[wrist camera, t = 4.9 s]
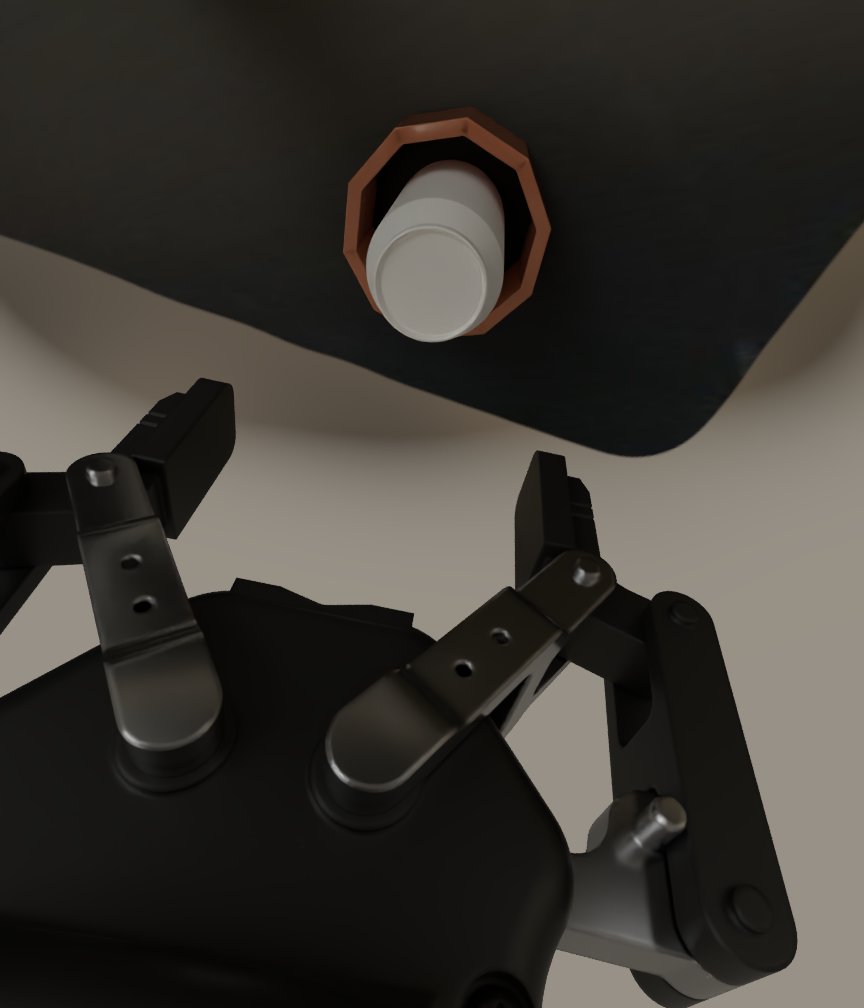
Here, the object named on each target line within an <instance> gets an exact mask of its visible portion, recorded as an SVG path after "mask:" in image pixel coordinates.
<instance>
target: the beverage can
mask: <svg viewBox="0 0 864 1008" xmlns="http://www.w3.org/2000/svg"><path fill="white" fill-rule="evenodd" d="M366 274H367V281H368V285H369V289H370V292H371V294H372V297H373V299H374V301H375V303H376V305H377V306H378V308H379V309H380V311H381V312H382V314H383V315H384V317H385V318H386V319H387V321H388V322H389V323H390V324H391V325H392V326H393V327H394V328H395V329H397V330H398V331H399V332H401V333H402V334H404V335H406V336H408V337H410V338H413V339H415V340H419V341H424V342H441V341H446V340H450V339H452V338H455V337H458V336H461V335H463V334H465V333H467V332H469V331H471V330H472V329H474V328H475V327H477V326H478V325H479V324H480V323H481V322H483V321H484V320H485V318H486V317H487V316H488V315H489V314H490V312H491V311H492V309H493V308H494V306H495V304H496V302H497V300H498V298H499V295H500V292H501V288H502V284H503V276H504V209H503V204H502V200H501V197H500V195H499V192H498V190H497V188H496V186H495V185H494V183H493V182H492V181H491V179H490V178H489V177H488V176H487V175H486V174H485V173H484V172H483V171H481V170H480V169H479V168H477V167H476V166H474V165H472V164H470V163H467V162H464V161H459V160H442V161H437V162H434V163H431V164H429V165H427V166H425V167H424V168H422V169H421V170H419V171H418V172H417V173H416V174H415V175H414V176H413V177H412V178H411V179H410V180H409V181H408V183H407V184H406V185H405V187H404V188H403V190H402V191H401V193H400V194H399V196H398V197H397V199H396V200H395V202H394V203H393V205H392V206H391V208H390V209H389V211H388V212H387V214H386V215H385V217H384V218H383V220H382V222H381V223H380V225H379V226H378V228H377V229H376V231H375V233H374V235H373V237H372V239H371V242H370V245H369V248H368V253H367V259H366Z"/></svg>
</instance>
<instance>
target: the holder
mask: <svg viewBox="0 0 864 1008" xmlns="http://www.w3.org/2000/svg"><path fill="white" fill-rule="evenodd" d="M458 136H465V137H466V138H468V139H469V140H471V141H472V142H474V143H475V144H477V145H479V146H480V147H482V148H483V149H485V150H486V151H488V152H489V153H491V154H492V155H494V156H495V157H497V158H498V159H500V160H501V161H503V162H504V163H506V164H507V165H509V166H510V167H512V168H513V169H515V170H516V171H517V174H518V177H519V180H520V183H521V186H522V189H523V192H524V195H525V198H526V201H527V204H528V207H529V210H530V213H531V219H530V222H529V226H528V230H527V233H526V237H525V241H524V244H523V248H522V252H521V255H520V259H519V260H518V261H517V262H516V263H515V264H514V265H513V266H511V267H510V268H509V269H508V270H507V271H506V272H505V273H504V276H503V284H502V288H501V292H500V295H499V298H498V300H497V302H496V304H495V306H494V308H493V309H492V311H491V312H490V314H489V315H488V316H487V317H486V318H485V320H484V321H483V322H481V323H480V324H479V325H478V326H477V327H475V328H474V329H472V330H471V331H469V332H467V333H465V334H463V335H461V336H466V335H478V334H485V333H486V332H487V331H488V330H490V329H491V328H492V327H493V326H494V325H496V324H497V323H498V322H499V321H501V320H502V319H503V318H504V317H505V316H507V315H508V314H509V313H510V312H511V311H513V310H514V309H515V308H516V307H518V306H519V305H520V304H521V303H522V302H524V301H525V300H526V299H527V298H528V297H530V296H531V295H532V292H533V289H534V286H535V282H536V279H537V276H538V272H539V269H540V265H541V262H542V259H543V255H544V252H545V249H546V245H547V242H548V238H549V235H550V232H551V225H550V220H549V215H548V210H547V206H546V203H545V199H544V196H543V193H542V190H541V187H540V184H539V181H538V178H537V175H536V171H535V168H534V165H533V162H532V159H531V156H530V153H529V150H528V147H527V143H526V142H524V141H523V140H521V139H520V138H518V137H517V136H515V135H514V134H512V133H511V132H510V131H508V130H507V129H505V128H504V127H502V126H501V125H499V124H498V123H496V122H495V121H493V120H492V119H490V118H489V117H488V116H486V115H485V114H483V113H482V112H480V111H479V110H477V109H476V108H474V107H473V106H469V107H463V108H456V109H450V110H443V111H436V112H430V113H423V114H416V115H409V116H408V117H407V118H406V119H405V120H403V121H402V122H401V123H400V124H399V125H398V126H396V127H395V128H394V130H393V131H392V132H391V133H390V134H389V136H388V137H387V138H386V139H385V140H384V142H383V143H382V144H381V145H380V146H379V147H378V149H377V150H376V151H375V152H374V153H373V154H372V156H371V157H370V158H369V159H368V160H367V162H366V163H365V164H364V165H363V166H362V167H361V169H360V170H359V171H358V172H357V173H356V174H355V176H354V177H353V178H352V179H351V180H350V181H349V183H348V195H347V208H346V221H345V234H344V247H343V254H344V255H345V257H346V259H347V260H348V262H349V264H350V266H351V268H352V270H353V272H354V274H355V275H356V277H357V279H358V281H359V283H360V285H361V287H362V288H363V290H364V292H365V294H366V296H367V298H368V300H369V302H370V303H371V305H372V307H373V309H374V310H376V311H377V312H379V313H381V314H382V312H381V311H380V309H379V308H378V306H377V305H376V303H375V301H374V299H373V297H372V294H371V292H370V289H369V285H368V281H367V274H366V259H367V253H368V248H369V245H370V242H371V239H372V237H373V235H374V233H375V230H374V228H373V222H374V212H375V203H376V194H377V184H378V175H379V171H380V170H381V169H382V168H383V167H384V166H385V164H386V163H387V162H388V161H389V160H390V159H391V158H392V156H393V155H394V154H395V153H396V152H397V151H398V150H399V148H400V147H401V146H402V145H403V144H409V143H416V142H423V141H430V140H437V139H444V138H451V137H458Z"/></svg>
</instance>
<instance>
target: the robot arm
mask: <svg viewBox="0 0 864 1008" xmlns="http://www.w3.org/2000/svg"><path fill="white" fill-rule="evenodd" d="M235 439H236V430H235V411H234V391H233V387H232V385H231V384H228V383H224V382H219V381H214V380H210V379H205V378H200V379H198V380H197V381H196V383H195V384H194V385H193V386H192V387H191V388H190V389H189V390H188V392H187V393H186V394H183V393H178V392H176V393H174V394H172V395H170V396H168V397H166V398H164V399H162V400H160V401H159V402H158V403H157V404H156V405H155V406H154V407H153V408H152V409H151V410H150V411H149V414H147V415H145V416H144V417H143V418H142V420H141V421H140V424H137V425H136V426H135V427H134V428H133V429H132V430H131V431H130V432H129V433H128V435H127V436H126V437H125V438H124V439H123V440H122V441H121V442H120V443H119V444H118V445H117V446H116V447H115V448H114V449H113V450H112V451H111V452H110V453H109V452H108V453H96V454H91V455H88V456H85V457H83V458H80V459H78V460H77V461H75V462H74V463H73V464H71V466H69V468H68V469H67V472H30V473H29V472H26V469H25V466H24V463H23V461H22V460H21V459H20V458H19V457H17V456H16V455H13V454H10V453H7V452H0V635H1V633H2V632H3V631H4V629H5V628H6V627H7V625H8V624H9V623H10V621H11V620H12V619H13V617H14V616H15V615H16V613H17V612H18V610H19V609H20V608H21V607H22V605H23V604H24V603H25V601H26V600H27V599H28V597H29V596H30V595H31V593H32V592H33V591H34V589H35V588H36V587H37V586H38V584H39V583H40V582H41V580H42V579H43V577H44V576H45V575H46V574H47V572H48V571H49V570H50V568H51V567H52V566H54V565H74V564H83V567H84V571H85V575H86V580H87V585H88V589H89V594H90V599H91V603H92V608H93V612H94V617H95V622H96V626H97V631H98V635H99V639H100V645H98V646H96V647H95V648H92V649H91V650H89V651H87V652H85V653H83V654H81V655H79V656H77V657H76V658H74V659H72V660H70V661H68V662H66V663H65V664H62V665H61V666H59V667H57V668H55V669H53V670H51V671H49V672H47V673H46V674H44V675H42V676H40V677H38V678H36V679H34V680H33V681H31V682H29V683H27V684H25V685H23V686H21V687H19V688H17V689H16V690H14V691H12V692H10V693H8V694H6V695H4V696H3V697H1V698H0V1008H542V1001H543V994H544V989H545V984H546V979H547V975H548V972H549V968H550V965H551V962H552V959H553V956H554V953H555V951H556V949H557V950H561V951H565V952H569V953H572V954H576V955H580V956H584V957H588V958H592V959H595V960H599V961H603V962H607V963H611V964H615V965H619V966H623V967H627V968H630V971H631V973H632V975H633V977H634V979H635V981H636V982H637V983H638V985H639V986H640V988H641V989H642V990H643V991H644V992H645V994H646V995H647V996H649V997H650V998H651V999H652V1000H653V1001H655V1002H656V1003H658V1004H659V1005H661V1006H663V1007H666V1008H687V1007H690V1006H692V1005H695V1004H697V1003H700V1002H702V1001H705V1000H707V999H709V998H712V997H715V996H717V995H720V994H723V993H725V992H728V991H730V990H733V989H735V988H738V987H740V986H743V985H745V984H748V983H750V982H753V981H755V980H758V979H760V978H763V977H766V976H768V975H771V974H773V973H776V972H778V971H781V970H783V969H785V968H786V967H787V966H788V965H789V964H790V963H791V962H792V960H793V959H794V956H795V953H796V950H797V931H796V926H795V922H794V918H793V915H792V911H791V907H790V903H789V900H788V896H787V893H786V889H785V885H784V881H783V877H782V874H781V870H780V866H779V863H778V859H777V855H776V851H775V848H774V844H773V841H772V837H771V833H770V830H769V826H768V822H767V819H766V815H765V811H764V808H763V803H762V800H761V796H760V792H759V789H758V785H757V782H756V778H755V775H754V770H753V767H752V763H751V759H750V755H749V752H748V748H747V744H746V741H745V737H744V733H743V730H742V726H741V722H740V719H739V715H738V711H737V707H736V704H735V700H734V697H733V693H732V689H731V686H730V682H729V678H728V674H727V671H726V667H725V663H724V659H723V656H722V652H721V648H720V645H719V641H718V637H717V634H716V630H715V626H714V623H713V620H712V618H711V616H710V615H709V613H708V612H707V611H706V610H705V608H704V607H703V606H701V605H700V604H699V603H698V602H697V601H695V600H694V599H692V598H690V597H688V596H686V595H684V594H681V593H678V592H673V591H663V592H660V593H658V594H656V595H655V596H654V597H653V599H652V600H649V599H647V598H645V597H642V596H640V595H638V594H636V593H633V592H632V591H629V590H627V589H626V588H624V587H622V586H620V585H619V584H618V583H617V580H616V575H615V572H614V571H613V569H612V568H611V566H610V565H609V564H608V563H607V562H606V561H605V560H604V559H602V558H601V557H600V551H599V546H598V540H597V534H596V528H595V522H594V520H593V518H594V516H593V510H592V509H591V507H592V504H591V499H590V493H589V491H588V490H587V488H586V487H585V486H584V484H583V483H582V481H581V480H580V479H579V478H575V477H570V476H567V468H566V461H565V457H564V456H562V455H557V454H552V453H548V452H543V451H538V450H537V451H536V452H535V453H534V455H533V458H532V461H531V463H530V466H529V469H528V471H527V475H526V477H525V480H524V482H523V485H522V488H521V491H520V493H519V497H518V500H517V504H516V510H515V590H514V589H513V588H512V587H510V586H508V587H506V588H504V589H502V590H501V591H500V592H498V593H497V594H496V595H495V596H493V597H492V598H491V599H490V600H489V601H487V602H486V603H485V604H483V605H482V606H481V607H480V608H478V609H477V610H476V611H475V612H473V613H472V614H471V615H470V616H468V617H467V618H466V619H465V620H463V621H462V622H461V623H459V624H458V625H457V626H456V627H454V628H453V629H452V630H451V631H449V632H448V633H447V634H446V635H444V636H443V637H442V638H441V639H439V640H438V641H435V640H434V639H433V638H431V637H430V636H429V635H427V634H425V633H424V632H422V631H420V630H418V629H416V628H413V627H412V622H413V617H414V613H409V612H404V611H399V610H394V609H389V608H384V607H380V606H374V605H322V604H319V603H317V602H315V601H312V600H310V599H308V598H305V597H303V596H301V595H299V594H296V593H294V592H292V591H289V590H287V589H285V588H283V587H281V586H276V585H270V584H265V583H261V582H256V581H251V580H246V579H241V578H236V580H235V582H234V584H233V586H232V588H231V590H230V591H218V592H211V593H206V594H201V595H198V596H195V597H191V598H189V599H188V597H187V595H186V592H185V589H184V587H183V583H182V581H181V578H180V575H179V572H178V570H177V567H176V564H175V561H174V558H173V555H172V552H171V550H170V547H169V544H168V541H167V538H171V539H177V538H178V536H179V535H180V533H181V531H182V530H183V529H184V527H185V526H186V524H187V522H188V521H189V519H190V518H191V516H192V515H193V513H194V512H195V510H196V508H197V507H198V506H199V504H200V503H201V501H202V499H203V498H204V497H205V495H206V493H207V492H208V490H209V489H210V487H211V486H212V484H213V483H214V481H215V480H216V478H217V477H218V475H219V474H220V472H221V470H222V469H223V467H224V466H225V464H226V463H227V461H228V460H229V458H230V456H231V454H232V452H233V449H234V445H235ZM570 662H572V663H574V664H576V665H579V666H580V667H582V668H584V669H586V670H588V671H590V672H592V673H594V674H596V675H598V676H600V677H602V678H604V685H605V698H606V712H607V725H608V738H609V752H610V764H611V778H612V790H613V802H612V803H611V804H610V805H609V806H608V808H607V809H606V810H605V811H604V812H603V813H602V814H601V815H600V816H599V817H598V818H597V819H596V820H595V822H594V823H593V824H592V826H591V828H590V830H589V834H588V841H587V850H586V852H585V853H570V851H569V847H568V844H567V841H566V839H565V836H564V834H563V832H562V830H561V827H560V825H559V824H558V822H557V820H556V818H555V817H554V815H553V814H552V812H551V811H550V809H549V807H548V806H547V804H546V803H545V801H544V800H543V798H542V797H541V795H540V793H539V792H538V791H537V789H536V787H535V786H534V784H533V783H532V781H531V779H530V778H529V776H528V775H527V773H526V772H525V770H524V769H523V767H522V765H521V764H520V762H519V761H518V759H517V758H516V756H515V755H514V753H513V751H512V750H511V748H510V747H509V745H508V744H507V742H506V741H505V739H504V738H505V737H506V735H507V734H508V733H509V732H510V731H511V730H512V728H513V727H514V726H515V724H516V723H517V722H518V720H519V719H520V718H521V716H522V715H523V713H524V712H525V711H526V710H527V708H528V707H529V706H530V705H531V704H532V702H534V700H535V699H536V698H537V697H538V696H539V695H540V694H541V693H542V692H543V691H544V690H545V689H546V688H547V687H548V686H549V685H550V683H551V682H552V681H553V680H554V679H555V678H556V677H557V676H558V675H559V674H560V673H561V672H562V671H563V670H564V669H565V668H566V667H567V665H568V664H569V663H570Z"/></svg>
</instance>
